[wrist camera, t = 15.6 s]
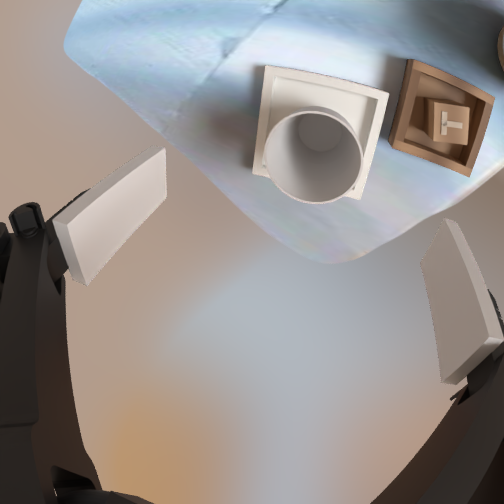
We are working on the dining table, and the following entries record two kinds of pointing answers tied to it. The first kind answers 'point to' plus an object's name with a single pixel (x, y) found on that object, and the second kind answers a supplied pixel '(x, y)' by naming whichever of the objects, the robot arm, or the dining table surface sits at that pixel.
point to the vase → (501, 47)
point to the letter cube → (446, 120)
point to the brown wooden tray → (412, 117)
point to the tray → (324, 95)
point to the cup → (314, 155)
